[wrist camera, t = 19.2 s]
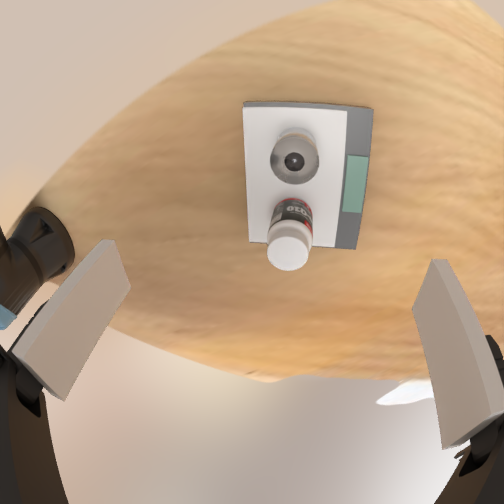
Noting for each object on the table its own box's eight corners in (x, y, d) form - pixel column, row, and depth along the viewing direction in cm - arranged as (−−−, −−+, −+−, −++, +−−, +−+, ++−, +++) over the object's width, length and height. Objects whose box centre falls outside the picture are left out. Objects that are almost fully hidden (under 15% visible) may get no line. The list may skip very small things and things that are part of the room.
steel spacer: (275, 126, 28) (269, 137, 23) (317, 128, 27) (320, 139, 23) (276, 164, 31) (269, 183, 26) (315, 166, 30) (317, 186, 25)
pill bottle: (320, 211, 33) (323, 251, 26) (296, 237, 36) (293, 281, 29) (288, 188, 32) (282, 223, 25) (265, 217, 35) (254, 257, 28)
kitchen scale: (252, 234, 40) (249, 245, 37) (246, 101, 29) (242, 103, 27) (353, 241, 37) (356, 252, 35) (369, 107, 27) (374, 110, 25)
